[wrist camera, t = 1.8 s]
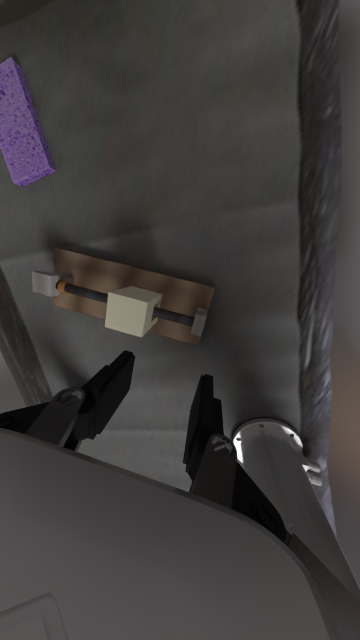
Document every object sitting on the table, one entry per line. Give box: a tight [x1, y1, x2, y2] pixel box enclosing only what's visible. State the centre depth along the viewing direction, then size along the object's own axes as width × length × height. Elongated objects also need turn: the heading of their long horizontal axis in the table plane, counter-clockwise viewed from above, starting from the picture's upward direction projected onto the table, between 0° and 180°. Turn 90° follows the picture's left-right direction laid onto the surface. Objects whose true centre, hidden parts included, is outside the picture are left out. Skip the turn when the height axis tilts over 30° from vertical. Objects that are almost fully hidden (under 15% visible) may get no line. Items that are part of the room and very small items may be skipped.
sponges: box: [0, 57, 56, 186], centre depth 26 cm, size 7×13×2 cm, turn 12°
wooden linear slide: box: [32, 248, 215, 346], centre depth 28 cm, size 27×10×6 cm, turn 77°
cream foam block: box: [105, 286, 162, 337], centre depth 25 cm, size 5×5×7 cm
